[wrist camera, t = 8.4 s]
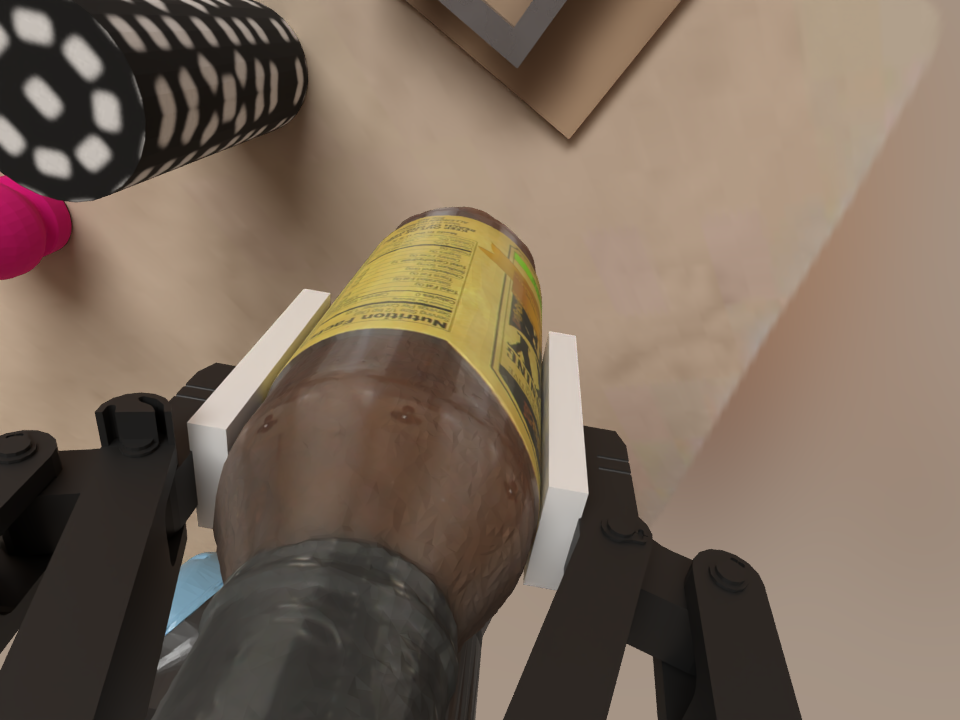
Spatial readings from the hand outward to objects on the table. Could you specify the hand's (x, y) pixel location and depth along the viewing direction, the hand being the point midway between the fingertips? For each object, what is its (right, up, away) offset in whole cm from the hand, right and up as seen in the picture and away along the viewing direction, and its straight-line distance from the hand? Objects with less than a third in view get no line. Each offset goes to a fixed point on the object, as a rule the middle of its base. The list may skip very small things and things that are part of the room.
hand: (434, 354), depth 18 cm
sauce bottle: (+1, +3, +5) cm, 6 cm away
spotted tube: (-14, +20, +25) cm, 35 cm away
